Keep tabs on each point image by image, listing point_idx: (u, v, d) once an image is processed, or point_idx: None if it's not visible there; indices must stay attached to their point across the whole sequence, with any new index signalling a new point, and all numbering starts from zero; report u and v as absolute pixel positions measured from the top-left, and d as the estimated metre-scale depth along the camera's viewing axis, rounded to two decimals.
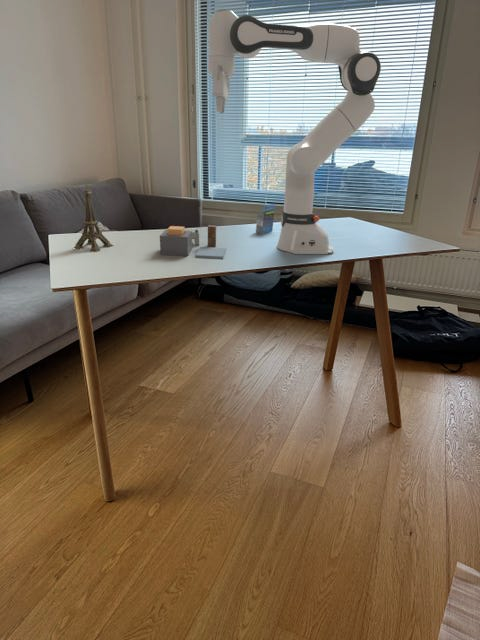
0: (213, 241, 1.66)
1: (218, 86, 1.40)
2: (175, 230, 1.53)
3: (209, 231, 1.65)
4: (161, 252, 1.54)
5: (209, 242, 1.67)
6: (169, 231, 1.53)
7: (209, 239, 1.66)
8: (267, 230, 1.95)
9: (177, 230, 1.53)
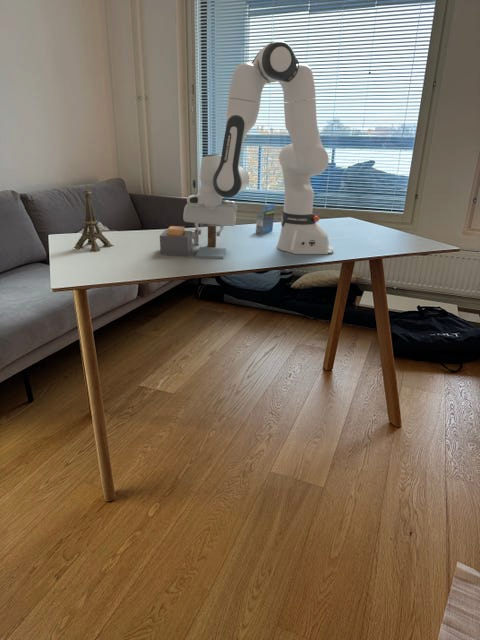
0: (213, 241, 1.66)
1: (235, 218, 1.64)
2: (175, 230, 1.53)
3: (209, 231, 1.65)
4: (161, 252, 1.54)
5: (209, 242, 1.67)
6: (169, 231, 1.53)
7: (209, 239, 1.66)
8: (267, 230, 1.95)
9: (177, 230, 1.53)
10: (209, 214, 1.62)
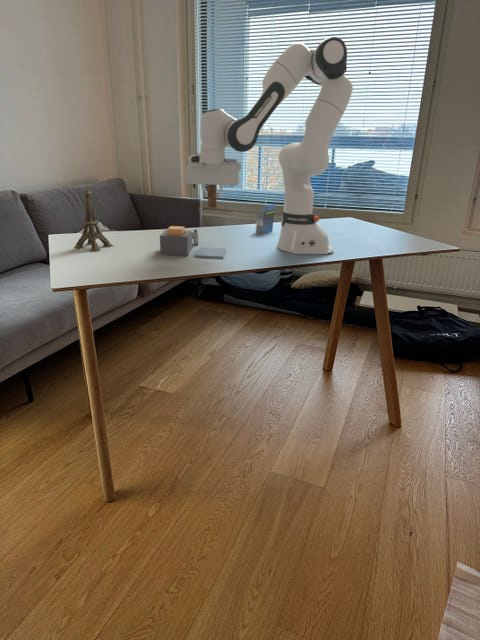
0: (214, 201, 1.60)
1: None
2: (175, 230, 1.53)
3: (209, 190, 1.58)
4: (161, 252, 1.54)
5: (209, 202, 1.60)
6: (169, 231, 1.53)
7: (209, 199, 1.60)
8: (267, 230, 1.95)
9: (177, 230, 1.53)
10: (212, 174, 1.56)
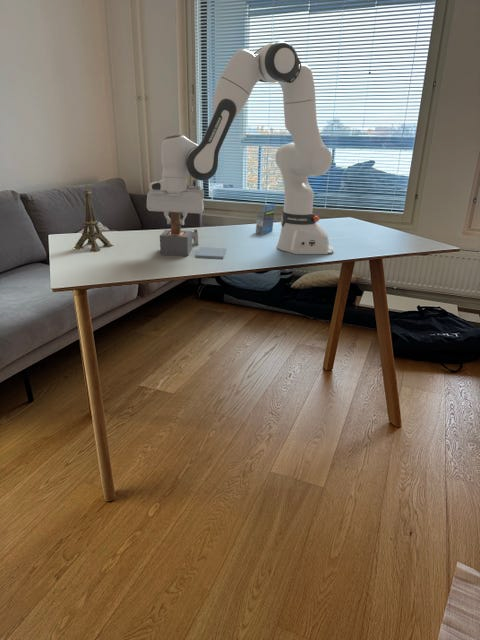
0: (177, 228, 1.54)
1: (203, 205, 1.52)
2: None
3: (172, 217, 1.52)
4: (161, 252, 1.54)
5: (173, 229, 1.54)
6: None
7: (172, 226, 1.54)
8: (267, 230, 1.95)
9: None
10: (175, 201, 1.50)
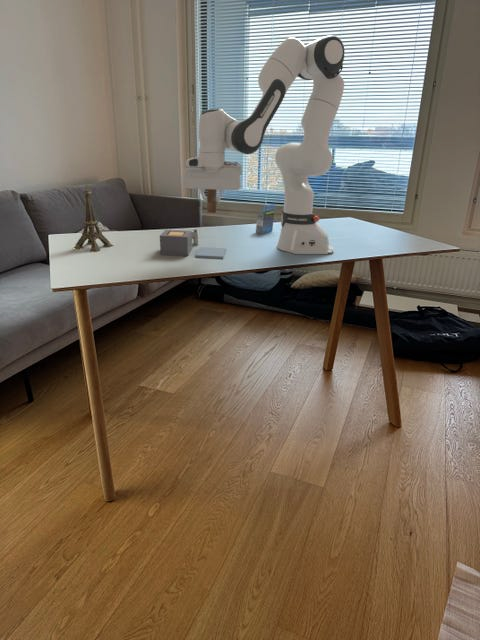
0: (213, 206, 1.50)
1: (240, 181, 1.48)
2: None
3: (209, 194, 1.48)
4: (161, 252, 1.54)
5: (209, 207, 1.50)
6: None
7: (209, 203, 1.50)
8: (267, 230, 1.95)
9: None
10: (212, 178, 1.46)
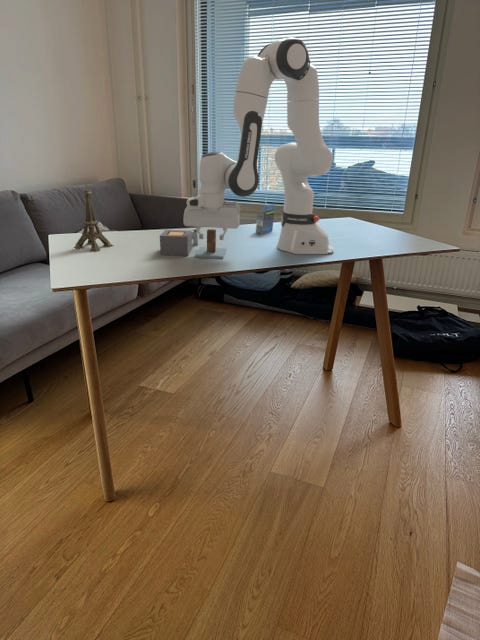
0: (213, 246, 1.56)
1: None
2: None
3: (208, 235, 1.54)
4: (161, 252, 1.54)
5: (208, 247, 1.56)
6: None
7: (208, 244, 1.56)
8: (267, 230, 1.95)
9: None
10: (211, 217, 1.51)
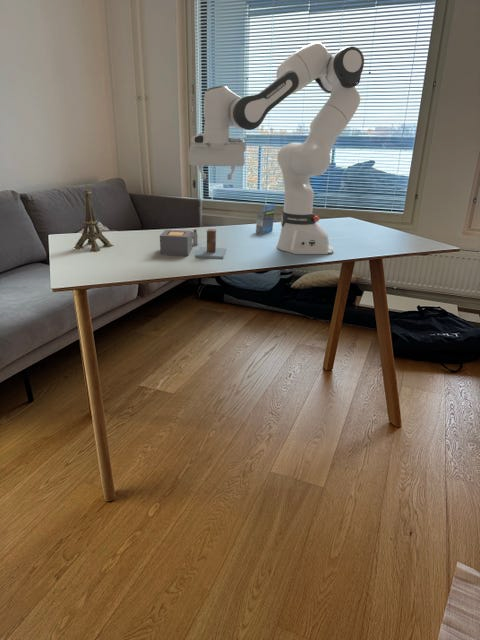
0: (213, 246, 1.56)
1: None
2: None
3: (208, 235, 1.54)
4: (161, 252, 1.54)
5: (208, 247, 1.56)
6: None
7: (208, 244, 1.56)
8: (267, 230, 1.95)
9: None
10: (216, 154, 1.50)
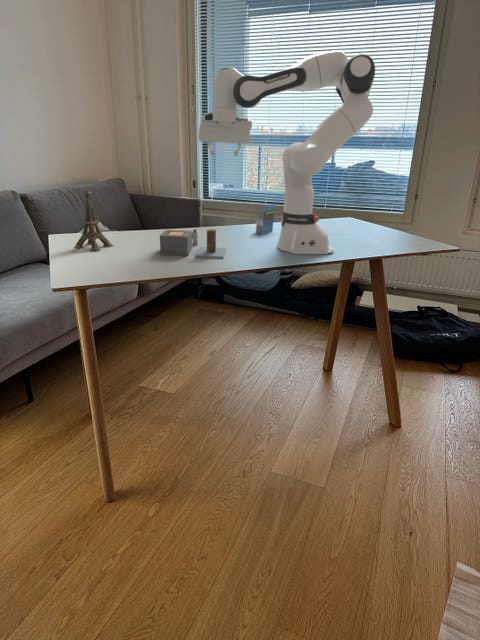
0: (213, 246, 1.56)
1: None
2: None
3: (208, 235, 1.54)
4: (161, 252, 1.54)
5: (208, 247, 1.56)
6: None
7: (208, 244, 1.56)
8: (267, 230, 1.95)
9: None
10: (224, 132, 1.64)
